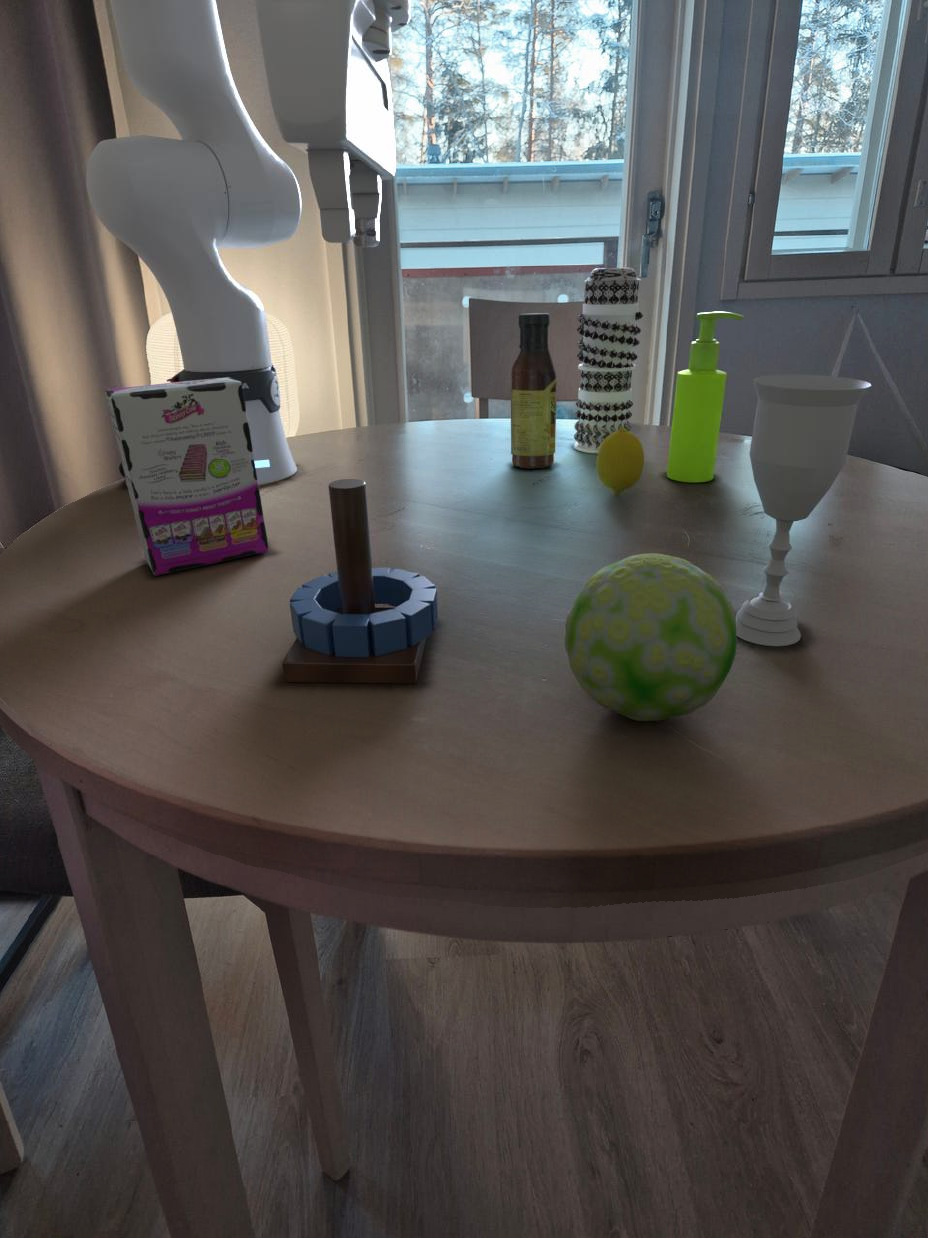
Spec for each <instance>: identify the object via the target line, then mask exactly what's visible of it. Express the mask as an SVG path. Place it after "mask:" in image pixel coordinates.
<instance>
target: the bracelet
mask: <svg viewBox="0 0 928 1238" xmlns="http://www.w3.org/2000/svg"><path fill="white" fill-rule="evenodd" d="M372 572H373V584H374V597H375V605H388V606H390V607H391V606H392V607H393V608H394V609H391V610H386V611H382V612H377V613H372V614H339V613H335V611H337V610H339V609H341V602H340V593H339V583H338V573H337V571H333V572H329V573H328V574H327V575H324V574H322V575H320V576H318V577H316V578H313V579H311V580H309V581H307V582H304V583H302V584H301V586H300V587H297V588H296V590H295V592H294V593H293V594H292V596H291V597H290V599H289V611H290V616H291V624H292V631H293V633H294V635H295V636H296V638H298V640H299V641H300V643H301V645H304V644H305V647H306V648H309V649H312V650H315V651H317V652H320V653H323V654H326V655H331V654H333V653H334V652H335V656H336V657H369V656H370V653H371V651H372V652H373V653H374V654H375V656H380V655H384V654H388V653H392V652H396V651H400V650H404V649H407V645H410V646H414V645H416V644H417V643H419V642H420V641H422V640H423V639H425V638H426V637H427V638H428V637H430V636H431V635H432V634H433V632H435V630H436V627H437V621H438V616H439V615H438V614H439V613H438V590H437V588H436V585H435V584H433V582H431V581H430V580H429V579H428V578H427V577H426V576H424V575H420V573H417V572H413V571H409V570H405V569H400V568H394V569H391V567H372ZM427 638H426V639H427Z"/></svg>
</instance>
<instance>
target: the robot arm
mask: <svg viewBox="0 0 928 1238" xmlns="http://www.w3.org/2000/svg"><path fill="white" fill-rule="evenodd" d="M254 1H255V11H256V17H257V24H258V31H259V37H260V44H261V50H262V57H263V62H264V63H263V64H264V69H265V74H266V75H265V76H266V82H267V87H268V92H269V98H270V103H271V107H272V111H273V115H274V118H275V121H276V125H277V126H278V130H279V132H280V135H281V137H282V140H283V141H284V142H285V143H286V144H288V145H289V146H292V147H294V148H296V149H297V150H299V151H301V152H303V153H304V154H306V155H307V161H308V171H309V178H310V181H311V184H312V188H313V191H314V195H315V199H316V202H317V206H318V210H319V218H320V228H321V236H322V238H323V240H324V241H325V242H327V243H328V244H329V243H330V244H350V243H353V244H354V245H355V246H356V247H359V248H377V247H378V246H379V245H380V242H381V235H380V234H381V233H380V215H381V207H382V206H381V205H382V195H383V194H382V181H390V180H393V179H394V178H395V174H396V167H397V166H396V163H397V160H396V159H397V158H396V156H397V155H396V142H395V129H394V128H395V125H394V124H395V123H394V112H393V99H392V98H393V97H392V86H391V79H390V71H389V66H388V60H387V59H389V57H390V56H391V55H392V53H393V49H392V33H396V32H397V31H400V30H402V29H403V28H404V27H406V26H407V25H408V23H409V22H410V20H411V15H412V14H411V0H254ZM109 3H110V8H111V12H112V17H113V21H114V26H115V30H116V36H117V40H118V45H119V49H120V54H121V58H122V62H123V67H124V69H125V70H124V71H125V72H126V74H127V76H128V78H129V80H130V82H131V84H132V85H133V86H134V88H135V89H136V90H137V91H138V92H139V94H140V95H142V96H143V97H144V98H145V99H146V100H147V101H149V102H150V103H152V104H153V105H154V106H156V107H157V108H158V109H159V110H161V111H162V112H163V114H165V116H166V117H167V118H169V119H168V120H170V121H171V123H172V124H173V126H174V127H175V129H176V130H177V132H178V134H179V135H180V138H181V139H180V138H179V139H178V138H169V137H163V136H153V135H146V134H142V135H134V136H133V135H132V136H131V135H129V136H123V137H116V138H109V139H104V140H101V141H99V142H98V143H97V145H96V146H95V147H94V149H93V150H92V152H91V154H90V156H89V159H88V162H87V166H86V173H85V183H86V191H87V196H88V199H89V201H90V204H91V207H92V209H93V211H94V213H95V215H96V216H97V218H98V220H99V221H100V223H101V224H102V225H103V227H104V228H105V229H106V230H107V231H108V232H109V233H110V234H111V235H112V236H113V237H114V238H116V239H118V240H119V241H120V242H121V243H123V244H125V245H126V246H127V247H128V248H129V249H130V250H131V251H132V252H134V253H135V254H136V255H137V257H139V258H140V259H141V261H142V262H143V263H144V265H145V266H147V268H148V269H149V270H150V272H151V273H152V275H153V277H154V278H155V280H156V281H157V283H158V284H159V286H160V288H161V290H162V291H163V293H164V296H165V298H166V300H167V302H168V306H169V309H170V312H171V315H172V320H173V323H174V327H175V332H176V336H177V340H178V344H179V350H180V354H181V358H182V364H183V369H182V370H181V371H179V372H178V373H176V374H174V375H173V376H172V377H170V378H168V379H166V382H169V383H173V382H183V381H193V380H204V379H216V378H227V377H231V378H232V379H235V380H237V381H240V382H242V388H243V393H244V399H245V405H246V413H247V418H248V424H249V429H250V436H251V442H252V449H253V455H254V462H255V468H256V474H257V479H258V485H259V486H260V485H264V484H269V483H273V482H277V481H281V480H284V479H286V478H289V477H292V476H293V475H294V474H296V473H297V471H298V467H297V464H296V462H295V460H294V458H293V455H292V453H291V450H290V446H289V444H288V440H287V436H286V434H285V430H284V429H285V428H284V425H283V421H282V417H281V413H280V408H281V392H280V391H281V390H280V383H279V379H278V375H277V370H276V369H277V368H276V366H275V365H274V364H273V363H272V362H273V361H272V356H271V348H270V341H269V331H268V325H267V317H266V310H265V306H264V305H263V302H262V300H261V299H260V298H259V296H257V294H256V293H255V292H253V291H252V290H251V289H250V288H248V287H246V286H245V285H243V284H241V283H239V282H237V281H236V280H235V279H234V278H233V277H232V276H231V274H230V273H229V272H228V271H227V269H226V267H225V266H224V263H223V261H222V259H221V256H220V253H219V249H246V250H247V249H252V250H254V249H260V248H265V247H270V246H273V245H276V244H281V243H284V242H286V241H288V240H290V239H291V238H292V237H293V235H294V234H295V233H296V230H297V229H298V226H299V223H300V220H301V217H302V216H301V215H302V209H303V207H302V205H303V204H302V194H301V190H300V186H299V183H298V181H297V178H296V176H295V174H294V172H293V170H292V169H291V168H290V166H289V165H288V163H286V162H285V161H284V160H283V159H282V158H281V157H279V156H278V155H277V154H276V152H275V151H273V150H272V148H271V147H270V146H269V145H268V143H267V142H266V141H265V139H264V138H263V136H262V135H261V134H260V132H259V131H258V128H257V127H256V126H255V124H254V122H253V121H252V119H251V117H250V115H249V113H248V111H247V109H246V107H245V105H244V103H243V100H242V99H241V96H240V94H239V91H238V89H237V86H236V84H235V81H234V78H233V75H232V72H231V68H230V64H229V58H228V56H227V55H228V54H227V51H226V46H225V40H224V36H223V31H222V27H221V26H222V25H221V21H220V17H219V11H218V6H217V0H109ZM118 471H119V473H120V475H121V476H122V477H123V478H124V479H126V478H125V473H124V469H123V465H122V461H121V462H120V463H119V466H118ZM125 485H126V487H127V488H128V486H127V482H126V481H125Z"/></svg>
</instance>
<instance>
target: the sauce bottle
mask: <svg viewBox="0 0 928 1238" xmlns="http://www.w3.org/2000/svg"><path fill="white" fill-rule="evenodd" d="M550 323H551V321H550V313H549V312H547V313H546V312H534V313H533V312H532V313H531V312H530V313H521V314H519V315H518V328H519V345H518V347H519V349H520V350H519V353H518V355H517V357H516V359H515V360H514V362H513V364H512V367H511V373H510V375H511V388H510V455H512V456H511V462H512V465H513V466H514V467H516V468H519V469H525V470H526V469H528V470H533V469H545V468H548V467H551V466H552V465H553V464H554V461H555V453H556V434H557V433H556V430H557V427H556V426H557V385H558V384H557V381H558V377H557V372H556V369H555V366H554V362H553V359H552V355H551V352H550V349H549V326H550Z"/></svg>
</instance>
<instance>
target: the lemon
mask: <svg viewBox="0 0 928 1238" xmlns="http://www.w3.org/2000/svg"><path fill="white" fill-rule="evenodd" d="M644 465H645V453H644V448H643V444H642V442H641V440H640V438H639V437H637V436H636V435H635V434H634V433H632V432H630V431H629V432H628V431H627V430H626V428H620V429H619V430H618V431H616V432H614V433H611V434H610V435H609V436H607V437H606V438H605V439H604V441H603V442H602V444H601V446H600V449H599V452H598V453H597V457H596V471H597V475H598V478H599V481H601V483H602V484H603V485H604V486H605V487H607V488H608V489H611V491H612V492H613V493H614V494H615V495H620V494H622V493H623V492H624V491H625V490H627V489H630V488H631V487H633V486H634V485H635V484H637V482H638V481H639V479H640V478H641V476H642V473H643V469H644Z"/></svg>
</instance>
